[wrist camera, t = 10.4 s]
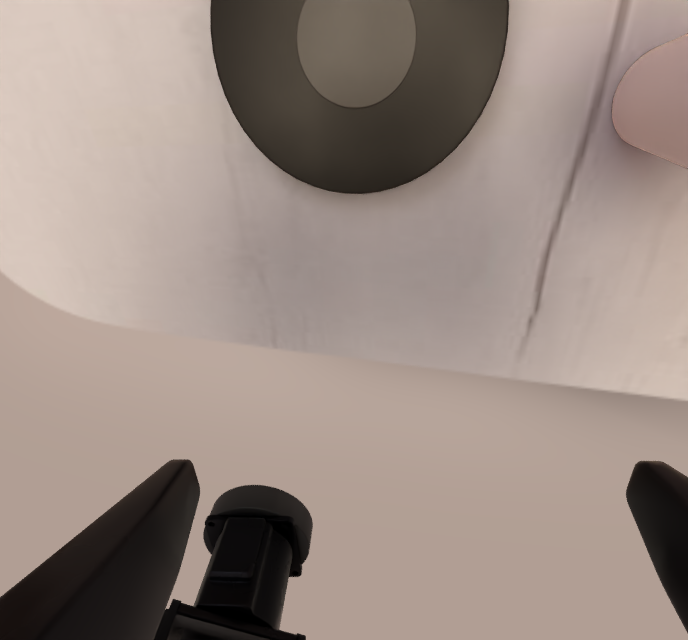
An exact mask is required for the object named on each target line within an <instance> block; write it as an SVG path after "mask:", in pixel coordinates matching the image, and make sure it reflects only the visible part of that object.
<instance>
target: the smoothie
mask: <svg viewBox="0 0 688 640" xmlns="http://www.w3.org/2000/svg"><path fill="white" fill-rule="evenodd" d="M612 119H613V124H614V127H615V129H616V131H617V133H618V135H619V136H620V137H621V138H622V139H623V140H624V141H625V142H627V143H628V144H630V145H632V146H635V147H637V148H639V149H642V150H644V151H646V152H649V153H651V154H654V155H656V156H658V157H661V158H663V159H666V160H668V161H670V162H673V163H675V164H678V165H680V166H682V167H685V168H687V169H688V33H687V34H685V35H683V36H681V37H678V38H676V39H674V40H672V41H669V42H667V43H665V44H662V45H660V46H658V47H656V48H654V49H652V50H650V51H648V52H647V53H645V54H644V55H643V56H641V57H640V58H639V59H638V60H637V61H636V62H635V63H634V64H633V65H632V66H631V67H630V68H629V69H628V71H627V72H626V73H625V75H624V76H623V78H622V79H621V81H620V83H619V85H618V87H617V90H616V92H615V95H614V99H613V104H612Z"/></svg>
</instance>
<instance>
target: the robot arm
mask: <svg viewBox="0 0 688 640" xmlns="http://www.w3.org/2000/svg"><path fill="white" fill-rule="evenodd" d="M199 496H200V487H199V483H198V479H197V476H196V473H195V469H194V466H193V464H192V462H191V461H190V460H171V461H169V462H167V463H166V464H165V465H164V466H162V467H161V468H160V469H159V470H158V471H156V472H155V473H154V474H152V475H151V476H150V477H149V478H147V479H146V480H145V481H144V482H143V483H141V484H140V485H139V486H138V487H136V488H135V489H134V490H133V491H132V492H130V493H129V494H128V495H126V496H125V497H124V498H123V499H121V500H120V501H119V502H118V503H117V504H115V505H114V506H113V507H112V508H110V509H109V510H108V511H107V512H105V513H104V514H103V515H102V516H100V517H99V518H98V519H97V520H95V521H94V522H93V523H92V524H90V525H89V526H88V527H87V528H86V529H84V530H83V531H82V532H81V533H80V534H78V535H77V536H76V537H74V538H73V539H72V540H71V541H69V542H68V543H67V544H66V545H64V546H63V547H62V548H61V549H60V550H58V551H57V552H56V553H55V554H53V555H52V556H51V557H50V558H48V559H47V560H46V561H45V562H44V563H42V564H41V565H40V566H39V567H37V568H36V569H35V570H34V571H32V572H31V573H30V574H29V575H27V576H26V577H25V578H24V579H22V580H21V581H20V582H19V583H17V584H16V585H15V586H14V587H12V588H11V589H10V590H9V591H7V592H6V593H5V594H4V595H3V596H1V597H0V640H306V636H305V635H301V634H297V635H295V634H291V633H288V632H284V631H281V630H279V627H280V622H281V616H282V611H283V605H284V600H285V594H286V589H287V582H288V578H289V577H299V576H301V574H302V563H301V557H300V551H299V545H298V539H297V533H296V527H295V521H294V519H293V518H292V517H290V516H267V515H209V516H207V518H206V520H205V527H206V530H207V533H208V536H209V539H210V543H211V546H212V549H213V553H212V556H211V559H210V562H209V565H208V567H207V570H206V573H205V576H204V579H203V581H202V584H201V587H200V589H199V593H198V595H197V598H196V601H195V603H194V606H190V605H187V604H183V603H181V601H179V600H175V599H173V601H172V603H171V605H170V608H169V609H166V610H165V608H166V606H167V603H168V600H169V598H170V595H171V592H172V590H173V587H174V584H175V581H176V579H177V576H178V573H179V570H180V567H181V563H182V560H183V556H184V553H185V549H186V545H187V541H188V538H189V534H190V530H191V527H192V523H193V519H194V516H195V512H196V508H197V504H198V501H199ZM626 498H627V502H628V504H629V507H630V509H631V512H632V514H633V517H634V519H635V521H636V524H637V526H638V529H639V531H640V533H641V536H642V538H643V540H644V543H645V545H646V548H647V550H648V553H649V555H650V557H651V560H652V562H653V565H654V567H655V570H656V572H657V574H658V576H659V578H660V581H661V583H662V585H663V587H664V589H665V591H666V593H667V595H668V597H669V598H670V600H671V603H672V604H673V606H674V608H675V610H676V612H677V614H678V616H679V618H680V619H681V621H682V623H683V625H684V627H685V629H686V631H687V633H688V477H687V476H685V475H683V474H682V473H680V472H679V471H677V470H675V469H674V468H672V467H671V466H669V465H667V464H666V463H664V462H661V461H640V462H638V463H637V464H636V465H635V467H634V470H633V472H632V475H631V478H630V481H629V484H628V487H627V490H626Z"/></svg>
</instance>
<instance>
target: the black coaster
mask: <svg viewBox="0 0 688 640" xmlns="http://www.w3.org/2000/svg"><path fill="white" fill-rule="evenodd" d="M508 15H509V1H508V0H211V38H212V46H213V54H214V59H215V63H216V68H217V72H218V76H219V79H220V82H221V85H222V88H223V91H224V94H225V96H226V98H227V101H228V103H229V105H230V107H231V109H232V111H233V113H234V115H235V117H236V119H237V120H238V122H239V123H240V125H241V127H242V128H243V130H244V132H245V133H246V134H247V135H248V137H249V138H250V139H251V141H252V142H253V143H254V144H255V146H256V147H257V148H258V149H259V150H260V151H261V152H262V153H263V154H264V155H265V156H266V157H267V158H268V159H269V160H270V161H272V162H273V163H274V164H275V165H277V166H278V167H279V168H280V169H282V170H283V171H285V172H286V173H288V174H290V175H291V176H293V177H295V178H296V179H298V180H300V181H302V182H305V183H307V184H309V185H311V186H314V187H317V188H321V189H324V190H328V191H333V192H339V193H346V194H365V193H373V192H380V191H384V190H388V189H392V188H396V187H398V186H401V185H403V184H406V183H408V182H411V181H413V180H414V179H416V178H418V177H420V176H422V175H423V174H425V173H427V172H428V171H430V170H431V169H432V168H434V167H435V166H437V165H438V164H439V163H441V162H442V161H443V160H444V159H445V158H446V157H447V156H448V155H449V154H451V153H452V152H453V151H454V150H455V149H456V148H457V147H458V145H459V144H460V143H461V142H462V141H463V139H464V138H465V137H466V136H467V135H468V134H469V132H470V131H471V129H472V128H473V126H474V125H475V123H476V122H477V120H478V119H479V117H480V116H481V114H482V112H483V110H484V108H485V106H486V104H487V102H488V100H489V98H490V96H491V94H492V91H493V88H494V86H495V83H496V81H497V78H498V75H499V71H500V68H501V64H502V60H503V57H504V52H505V46H506V39H507V33H508Z"/></svg>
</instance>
